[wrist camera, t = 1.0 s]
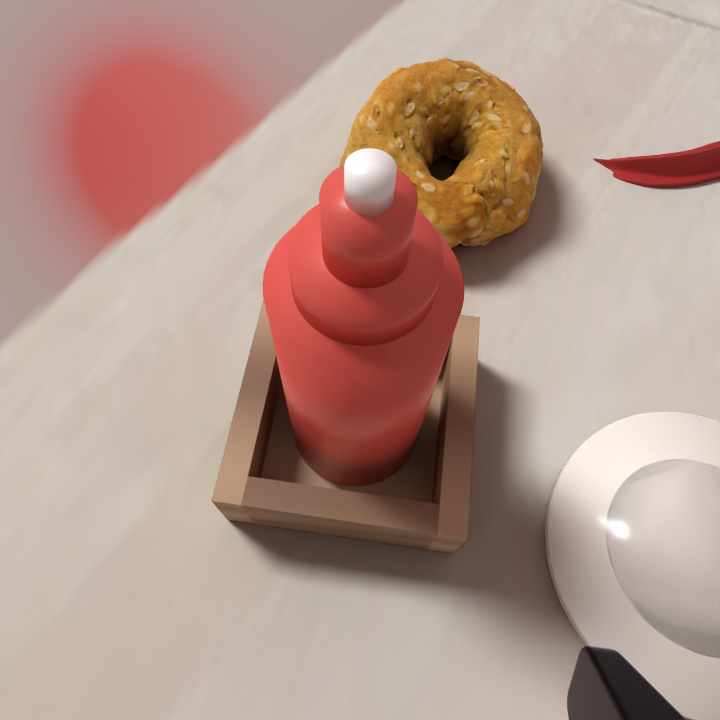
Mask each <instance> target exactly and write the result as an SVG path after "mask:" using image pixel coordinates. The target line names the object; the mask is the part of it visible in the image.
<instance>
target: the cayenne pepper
mask: <svg viewBox="0 0 720 720" xmlns="http://www.w3.org/2000/svg"><path fill="white" fill-rule="evenodd" d="M594 160H595V161H597V162H598V163H600V164H602V165H603V166H605V167H607V168H608V169H610V170H612V171H613V172H614V173H613V176H614V177H615V178H617V179H620V180H622V181H626V182H629V183H633V184H637V185H642V186H648V187H680V186H688V185H693V184H698V183H702V182H706V181H710V180H713V179H717V178H720V141H719V142H714V143H711V144H708V145H705V146H702V147H699V148H696V149H692V150H688V151H683V152H676V153H669V154H661V155H651V156H639V157H628V158H618V159H611V160H603V159H594Z"/></svg>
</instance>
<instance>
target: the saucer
mask: <svg viewBox="0 0 720 720" xmlns="http://www.w3.org/2000/svg"><path fill="white" fill-rule="evenodd" d="M545 546H546V554H547V562H548V566H549V570H550V574H551V578H552V582H553V585H554V587H555V590H556V593H557V595H558V598H559V601H560V603H561V605H562V607H563V609H564V611H565V613H566V615H567V617H568V619H569V621H570V623H571V625H572V626H573V628H574V629H575V631H576V632H577V634H578V635H579V637H580V638H581V640H582V641H583V643H584V644H585V645H586V646H594V647H602V648H609V649H613V650H616V651H617V652H619V653H620V654H621V655H622V656H623V657H624V658H625V659H626V660H627V661H628V662H629V663H630V664H631V665H632V666H633V667H634V668H635V669H636V670H637V671H638V672H639V673H640V674H641V675H642V676H643V677H644V678H645V679H646V680H647V681H648V682H649V683H650V684H651V685H652V686H653V687H654V688H655V689H656V690H657V691H658V692H659V693H660V694H661V695H662V696H663V697H664V698H665V699H666V700H667V701H668V702H669V703H670V704H671V705H672V706H673V707H674V708H675V709H676V710H677V711H678V712H679V713H680V714H681V715H682V716H683V717H684V718H687V719H690V720H720V422H718V421H716V420H713V419H709V418H706V417H702V416H698V415H693V414H686V413H679V412H652V413H642V414H638V415H634V416H630V417H626V418H624V419H621V420H619V421H616V422H614V423H611V424H609V425H608V426H606V427H604V428H603V429H601V430H599V431H598V432H596V433H595V434H594V435H593V436H591V437H590V438H589V439H588V440H587V441H585V442H584V443H583V444H582V445H581V446H580V447H579V448H578V449H577V450H576V451H575V452H574V453H573V454H572V455H571V456H570V458H569V459H568V460H567V461H566V463H565V465H564V466H563V468H562V469H561V471H560V472H559V474H558V476H557V479H556V481H555V483H554V485H553V488H552V491H551V494H550V498H549V501H548V505H547V512H546V520H545Z"/></svg>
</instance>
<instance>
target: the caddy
mask: <svg viewBox="0 0 720 720" xmlns="http://www.w3.org/2000/svg"><path fill="white" fill-rule="evenodd" d="M479 325H480V317H473V316H465V315H460V316H459V319H458V322H457V325H456V328H455V331H454V334H453V336H452V339H451V342H450V345H449V348H448V351H447V354H446V357H445V360H444V363H443V365H442V368H441V371H440V374H439V377H438V380H437V383H436V386H435V389H434V392H433V394H432V397H431V400H430V403H429V406H428V409H427V412H426V415H425V418H424V420H423V423H422V426H421V429H420V432H419V435H418V438H417V441H416V444H415V446H414V449H413V451H412V453H411V455H410V457H409V459H408V460H407V461H406V463H405V464H404V465H403V466H402V467H401V468H400V469H399V470H398V471H397V472H396V473H394V474H393V475H392V476H390V477H388V478H387V479H385V480H383V481H380V482H378V483H375V484H371V485H366V486H347V485H341V484H337V483H334V482H331V481H329V480H327V479H325V478H323V477H322V476H320V475H318V474H317V473H316V472H315V471H313V470H312V469H311V468H310V467H309V466H308V465H307V464H306V462H305V461H304V459H303V458H302V456H301V455H300V453H299V451H298V448H297V446H296V443H295V439H294V434H293V429H292V425H291V420H290V416H289V411H288V407H287V402H286V398H285V393H284V389H283V384H282V380H281V375H280V370H279V366H278V361H277V357H276V352H275V348H274V343H273V339H272V334H271V330H270V325H269V320H268V316H267V311H266V307H265V302H264V299H263V303H262V307H261V311H260V315H259V319H258V323H257V327H256V330H255V334H254V338H253V342H252V346H251V350H250V354H249V358H248V361H247V365H246V369H245V373H244V377H243V381H242V385H241V389H240V392H239V396H238V400H237V404H236V408H235V412H234V416H233V420H232V423H231V427H230V431H229V435H228V439H227V443H226V447H225V451H224V454H223V458H222V462H221V466H220V470H219V474H218V478H217V482H216V485H215V489H214V493H213V497H212V502H213V503H214V504H215V506H216V507H217V508H218V509H219V510H220V511H221V513H222V514H223V515H224V516H225V517H226V519H227V520H233V521H240V522H247V523H253V524H260V525H267V526H273V527H280V528H286V529H293V530H300V531H306V532H313V533H320V534H326V535H333V536H340V537H346V538H353V539H360V540H366V541H373V542H380V543H386V544H393V545H400V546H406V547H413V548H420V549H426V550H433V551H439V552H446V553H453V552H455V551H456V550H457V549H458V548H459V547H460V546H461V545H462V544H463V543H464V542H465V541H466V540H467V539H468V528H469V510H470V491H471V473H472V454H473V436H474V417H475V399H476V380H477V362H478V343H479Z"/></svg>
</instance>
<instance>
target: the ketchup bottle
mask: <svg viewBox="0 0 720 720" xmlns="http://www.w3.org/2000/svg"><path fill="white" fill-rule="evenodd" d="M319 202H320V204H318V205H317V206H315V207H314V208H312V209H311V210H309V211H308V212H307V213H306V214H305V215H304V216H303V217H302V218H301V219H300V221H299V222H298V223H297V225H296V226H294V227H293V228H292V229H291V230H289V231H288V232H287V233H286V234H285V235H284V236H283V237H282V238H281V240H280V241H279V242H278V243H277V245H276V246H275V248H274V249H273V251H272V253H271V255H270V257H269V259H268V261H267V264H266V268H265V271H264V277H263V297H264V302H265V307H266V311H267V316H268V320H269V325H270V330H271V334H272V339H273V343H274V348H275V352H276V357H277V361H278V366H279V370H280V375H281V380H282V384H283V389H284V393H285V398H286V402H287V407H288V411H289V416H290V420H291V425H292V429H293V434H294V439H295V443H296V446H297V448H298V451H299V453H300V455H301V456H302V458H303V459H304V461H305V462H306V464H307V465H308V466H309V467H310V468H311V469H312V470H313V471H315V472H316V473H317V474H318V475H320V476H322V477H323V478H325V479H327V480H329V481H331V482H334V483H337V484H341V485H347V486H366V485H371V484H375V483H378V482H380V481H383V480H385V479H387V478H388V477H390V476H392V475H393V474H394V473H396V472H397V471H398V470H399V469H400V468H401V467H402V466H403V465H404V464H405V463H406V461H407V460H408V459H409V457H410V455H411V453H412V451H413V449H414V446H415V444H416V441H417V438H418V435H419V432H420V429H421V426H422V423H423V420H424V418H425V415H426V412H427V409H428V406H429V403H430V400H431V397H432V394H433V392H434V389H435V386H436V383H437V380H438V377H439V374H440V371H441V368H442V365H443V363H444V360H445V357H446V354H447V351H448V348H449V345H450V342H451V339H452V336H453V334H454V331H455V328H456V325H457V322H458V319H459V316H460V313H461V310H462V305H463V301H464V280H463V275H462V271H461V268H460V265H459V263H458V260H457V258H456V256H455V254H454V253H453V251H452V249H451V248H450V247H449V245H448V244H447V243H446V241H445V240H444V239H443V238H442V237H441V236H440V235H439V234H438V233H437V231H436V229H435V228H434V226H433V225H432V224H431V222H430V221H429V220H428V219H427V218H426V217H425V216H424V215H423V214H422V213H421V212H420V211H418V210H417V205H418V194H417V190H416V188H415V186H414V184H413V182H412V181H411V179H410V178H409V177H408V176H407V175H406V174H405V173H403V172H402V171H401V170H399V169H397V166H396V163H395V161H394V159H393V158H392V157H391V156H390V155H389V154H388V153H386V152H384V151H382V150H379V149H373V148H365V149H360V150H357V151H355V152H353V153H352V154H351V155H349V156H348V158H347V159H346V161H345V164H344V165H343V166H341V167H339V168H337V169H336V170H334V171H333V172H332V173H331V174H330V175H329V176H328V177H327V178H326V179H325V181H324V182H323V184H322V186H321V189H320V194H319Z"/></svg>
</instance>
